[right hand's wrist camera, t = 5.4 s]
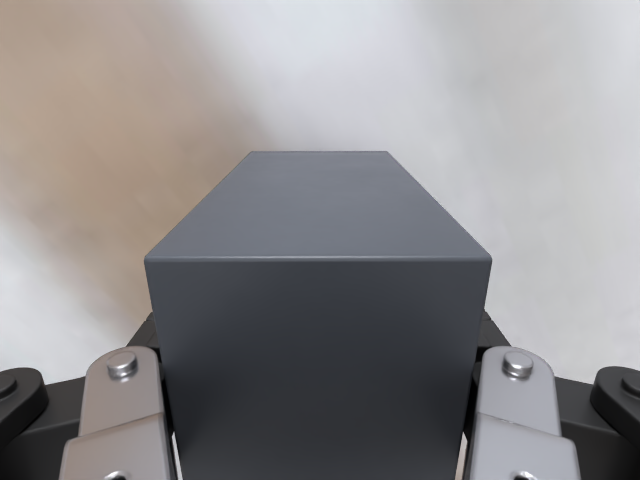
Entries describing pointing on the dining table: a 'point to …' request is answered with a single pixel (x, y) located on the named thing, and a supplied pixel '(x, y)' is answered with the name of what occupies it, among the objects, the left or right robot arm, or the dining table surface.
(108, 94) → the dining table surface
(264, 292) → the box
